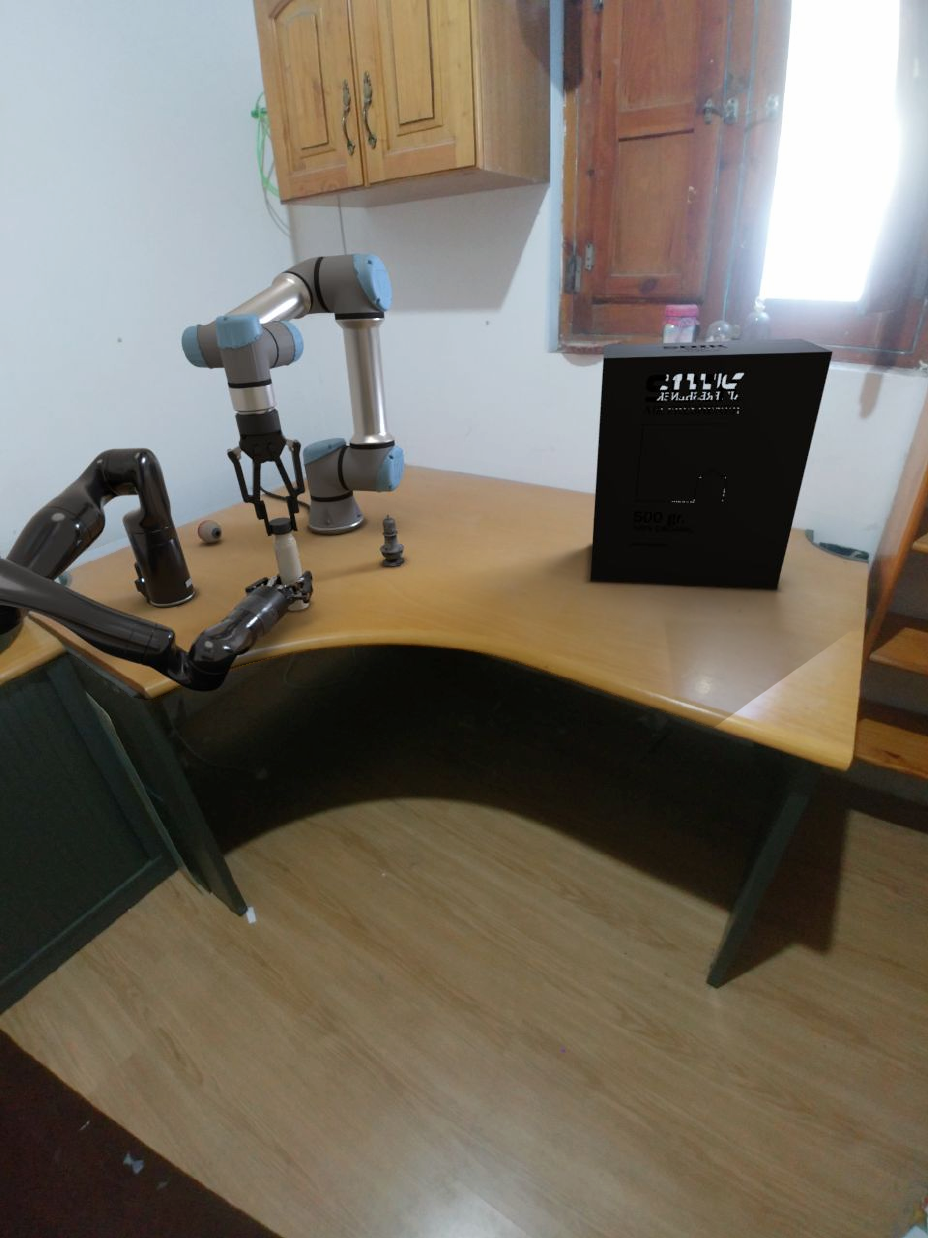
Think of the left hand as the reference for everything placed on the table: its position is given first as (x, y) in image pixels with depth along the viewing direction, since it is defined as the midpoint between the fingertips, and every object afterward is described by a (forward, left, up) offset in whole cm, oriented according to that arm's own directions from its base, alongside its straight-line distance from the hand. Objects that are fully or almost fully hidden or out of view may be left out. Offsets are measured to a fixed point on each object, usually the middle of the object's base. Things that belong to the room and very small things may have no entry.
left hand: (298, 574), depth 128 cm
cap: (0, -3, +13) cm, 13 cm away
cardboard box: (+79, +26, -6) cm, 84 cm away
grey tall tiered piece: (+14, +21, -6) cm, 26 cm away
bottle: (0, -3, -6) cm, 7 cm away
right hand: (0, -3, +11) cm, 11 cm away
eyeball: (-40, +28, -6) cm, 49 cm away
